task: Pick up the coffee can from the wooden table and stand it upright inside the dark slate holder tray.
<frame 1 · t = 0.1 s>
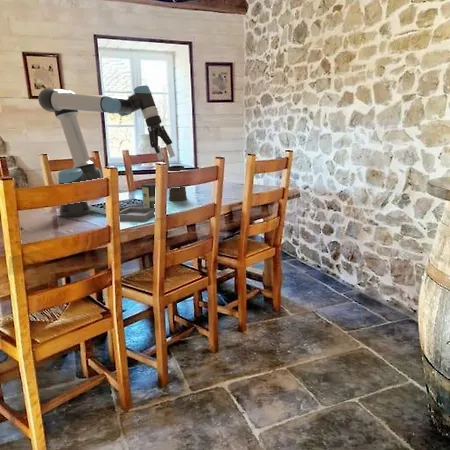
hand: (167, 158, 197), 28 cm above the table, tool tilted 20°, fingers open, 13 cm apart
holder tray: (136, 216, 196), on the table
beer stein: (177, 199, 238), on the table
coffee can: (153, 210, 210), on the table
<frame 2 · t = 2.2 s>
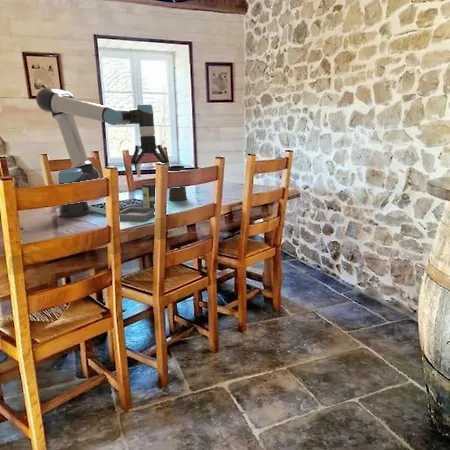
hand: (151, 176, 206), 18 cm above the table, tool pointing down, fingers open, 13 cm apart
nothing on the table moved.
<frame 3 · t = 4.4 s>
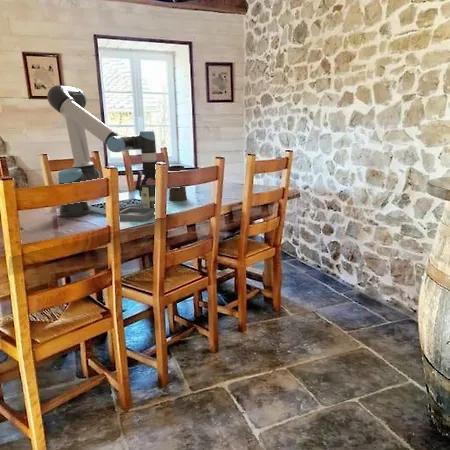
hand: (152, 202, 209), 4 cm above the table, tool pointing down, fingers closed on coffee can, 10 cm apart
coffee can: (153, 210, 210), on the table, touching gripper
everything else where it was.
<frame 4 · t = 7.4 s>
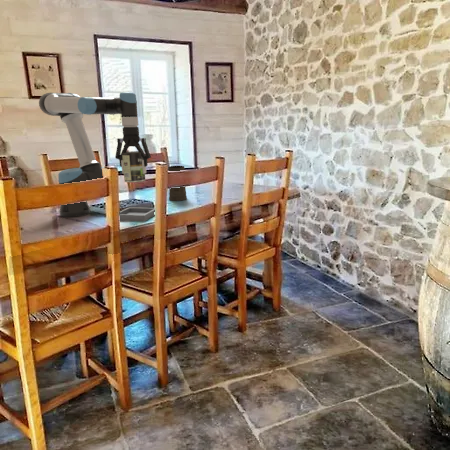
hand: (134, 173, 192), 22 cm above the table, tool pointing down, fingers closed on coffee can, 10 cm apart
coffee can: (135, 181, 193), point 18 cm above the table, touching gripper
everything else where it was.
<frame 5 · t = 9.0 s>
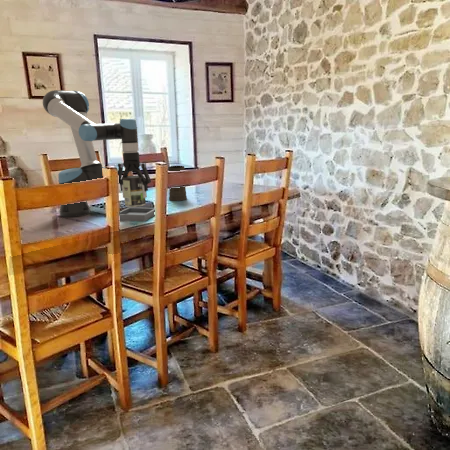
hand: (134, 197, 193), 10 cm above the table, tool pointing down, fingers closed on coffee can, 10 cm apart
coffee can: (135, 205, 194), point 6 cm above the table, touching gripper
everything else where it was.
when the fingers open (6 cm above the table, at t = 10.4 s): coffee can drops 1 cm, resting on holder tray.
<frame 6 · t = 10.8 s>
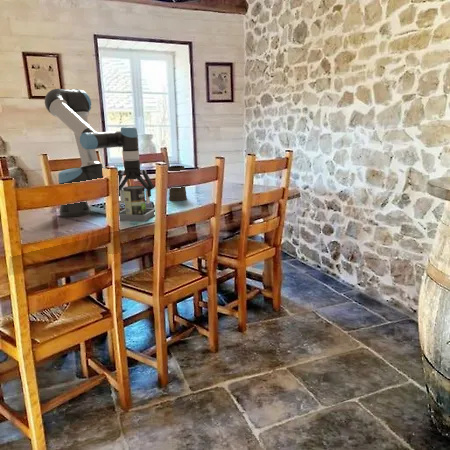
hand: (135, 203, 194), 7 cm above the table, tool pointing down, fingers open, 13 cm apart
coffee can: (136, 215, 196), point 1 cm above the table, touching holder tray
everything else where it was.
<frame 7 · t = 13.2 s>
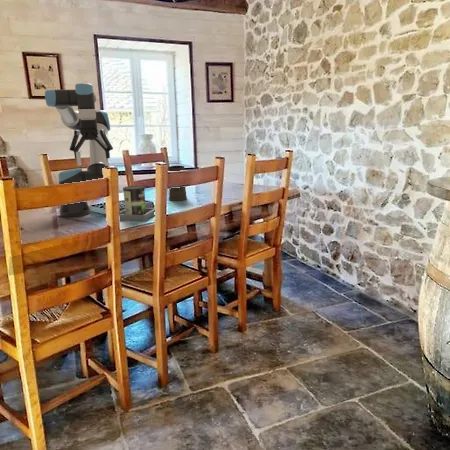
hand: (93, 165, 185), 26 cm above the table, tool pointing down, fingers open, 13 cm apart
nothing on the table moved.
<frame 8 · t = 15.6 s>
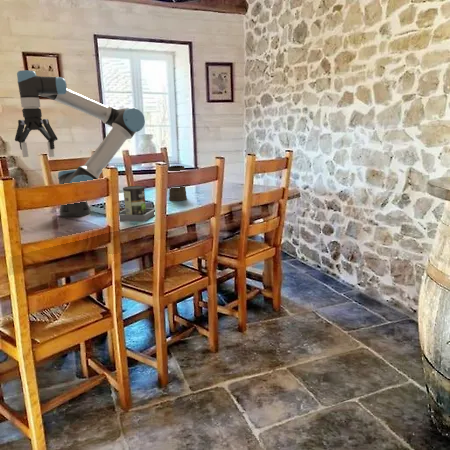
hand: (38, 156, 178), 32 cm above the table, tool pointing down, fingers open, 13 cm apart
nothing on the table moved.
at the end: coffee can inside the target area on the holder tray (0.2 cm from its centre), point 0.6 cm above the holder tray's base; coffee can tilted 0°; the gripper is holding nothing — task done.
